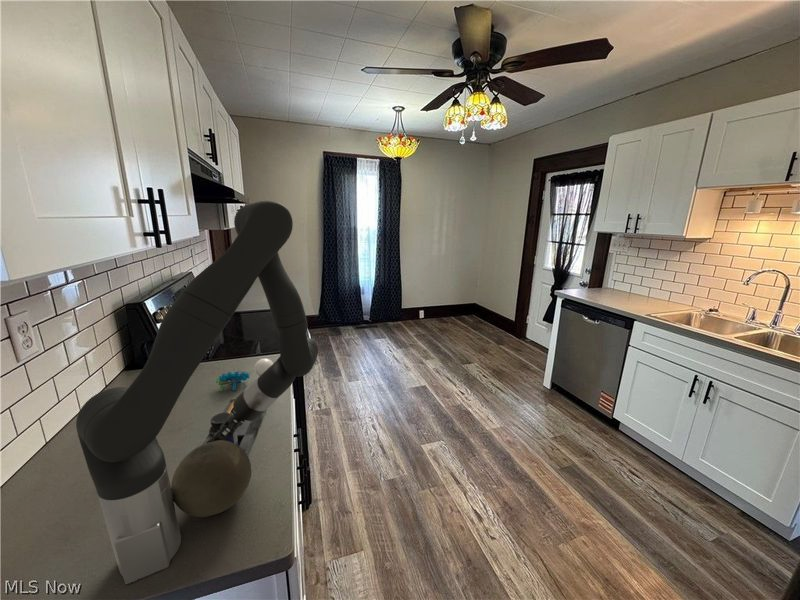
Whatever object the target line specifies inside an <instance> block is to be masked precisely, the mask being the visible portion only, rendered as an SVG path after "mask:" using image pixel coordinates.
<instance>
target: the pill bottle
mask: <svg viewBox="0 0 800 600" xmlns="http://www.w3.org/2000/svg"><path fill="white" fill-rule="evenodd" d="M229 415H230V413H226V412H224V413H223V412H219V413H218V414H215V415H213V416H212V417H211V419H210V425H211V427H210V428H209V430H208V435H210V438H211V437H212V436H213V435H214V434H215V432H217V431H218V430H219V429H220V426H221V424H222V423H223V422H224V421H225V420H226V419H227V418H228V416H229ZM227 422H228V421H227ZM227 422H226V423H225V425H227ZM227 426H229V425H227ZM232 429H233V428H232ZM224 441H229V442H232V443H233V444H235V445H236V446H238V447H239V443H238V440H237V432H236V430H235V431H234V432H233V433H232V434H231V435H230V436H229V437H227V438H226V439H225V440H224Z"/></svg>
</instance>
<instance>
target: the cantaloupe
mask: <svg viewBox="0 0 800 600" xmlns="http://www.w3.org/2000/svg"><path fill="white" fill-rule="evenodd" d="M202 444H203V443H202ZM202 444H201V445H199V446H197V447H196V448H194V449H193V450H191V451H190V452H189V453H188V454H187V455H186V456H185V457H184V458H183V459H182V460H181V461H180V463H179V464H178V466H177V468H176V469H175V471H174V473H173V476H172V478H171V483H170V486H171V491H172V496H173V501H174V505H175V506H177V508H179V510H180V511H182V512H184V513H185V514H186V515H187V516H191V517H194V518H205V517H206V518H207V517H211V516H215V515H218V514H220V513H222V512H224V511H227V510H228V509H229V508H231V507H232V506H233V505H235V504H236V503H237V502H238V501H239V500H240V498H242V496H243V495H244V493H245V492H246V491H247V488H248V486H249V484H250V482H251V478H252V464H251V462H250V458H249V455H248V456H247V454H246V452H245V451H244V450H243V449H242V448H240V447H239V445H238V446H236V445H235V444H233V443H232V442H229V441H224V440H218V441H214V442H210V443H206V444H203V445H202Z"/></svg>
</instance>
